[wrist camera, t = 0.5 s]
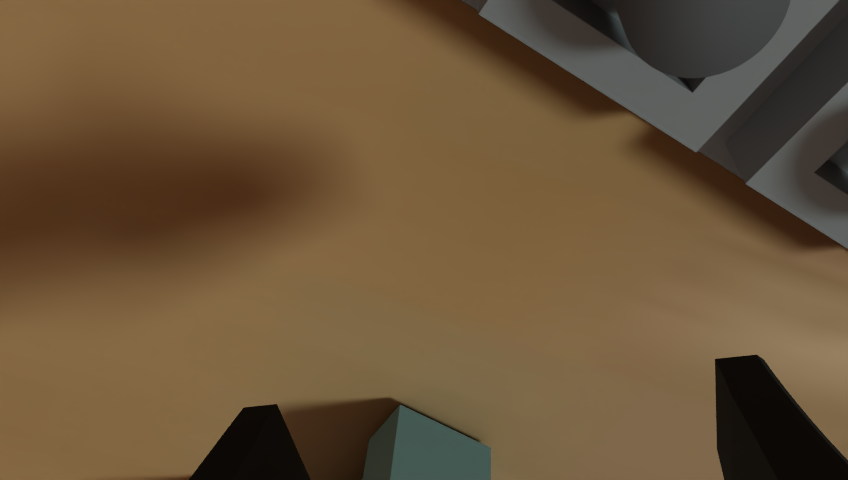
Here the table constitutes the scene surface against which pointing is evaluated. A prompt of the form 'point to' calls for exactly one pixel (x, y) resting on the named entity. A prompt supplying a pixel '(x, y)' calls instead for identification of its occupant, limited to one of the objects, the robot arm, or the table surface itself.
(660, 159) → the table surface
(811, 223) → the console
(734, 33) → the plunger
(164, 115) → the table surface
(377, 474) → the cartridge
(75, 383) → the table surface
